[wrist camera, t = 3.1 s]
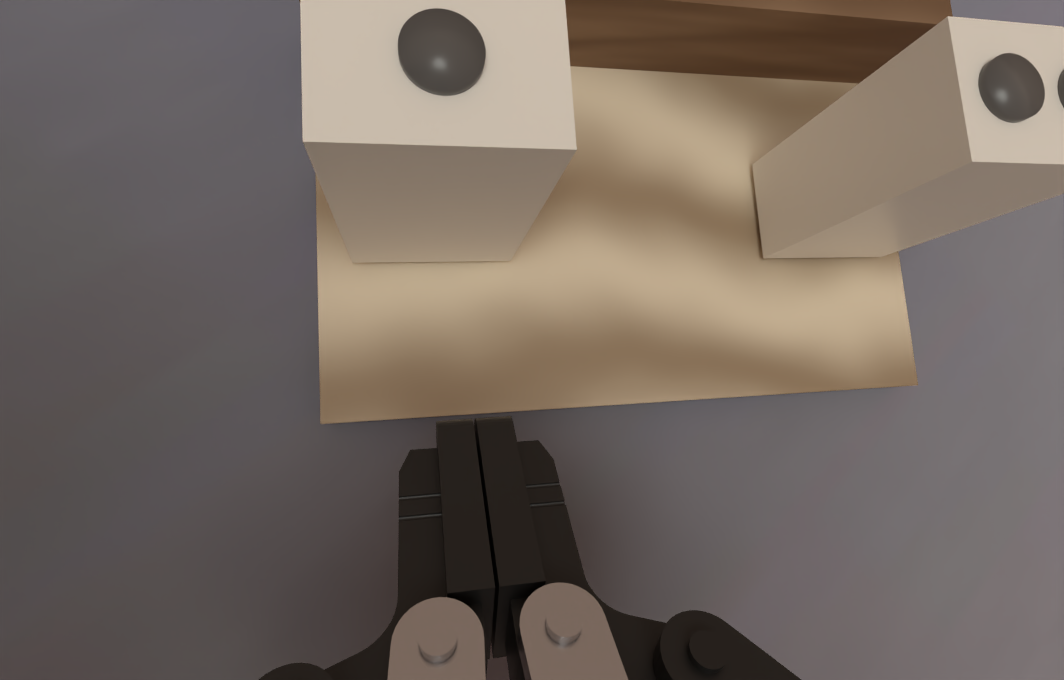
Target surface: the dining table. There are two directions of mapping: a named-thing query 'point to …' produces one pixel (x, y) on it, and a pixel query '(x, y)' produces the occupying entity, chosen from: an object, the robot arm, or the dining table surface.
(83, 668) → the dining table surface
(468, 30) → the key one
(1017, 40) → the key two
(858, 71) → the console
